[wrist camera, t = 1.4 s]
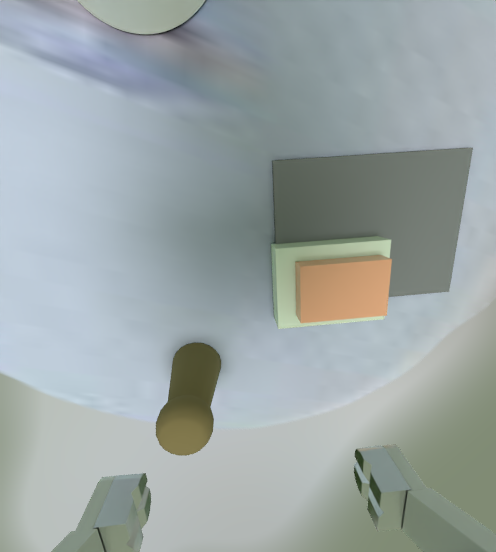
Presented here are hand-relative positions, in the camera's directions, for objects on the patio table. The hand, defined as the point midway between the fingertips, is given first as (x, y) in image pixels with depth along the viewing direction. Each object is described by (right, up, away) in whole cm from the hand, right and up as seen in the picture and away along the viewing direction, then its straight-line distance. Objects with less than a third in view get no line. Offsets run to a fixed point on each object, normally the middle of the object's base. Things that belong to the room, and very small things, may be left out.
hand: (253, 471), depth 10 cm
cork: (-7, -4, +23) cm, 25 cm away
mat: (+13, +12, +20) cm, 27 cm away
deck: (+9, +7, +21) cm, 24 cm away
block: (+9, +6, +18) cm, 21 cm away
